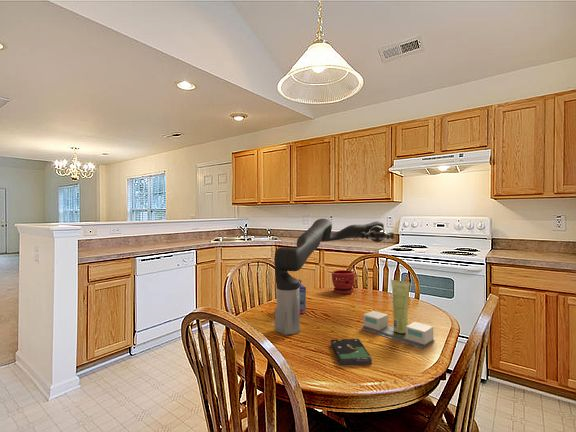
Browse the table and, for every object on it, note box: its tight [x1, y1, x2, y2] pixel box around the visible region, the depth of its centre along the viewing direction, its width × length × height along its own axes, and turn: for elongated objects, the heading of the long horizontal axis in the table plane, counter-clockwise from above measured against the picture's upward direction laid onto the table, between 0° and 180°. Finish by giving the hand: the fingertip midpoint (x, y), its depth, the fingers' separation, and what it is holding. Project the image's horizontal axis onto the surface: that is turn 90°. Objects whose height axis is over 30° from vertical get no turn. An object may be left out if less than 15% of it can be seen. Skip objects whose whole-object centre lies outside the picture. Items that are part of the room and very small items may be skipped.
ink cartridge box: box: [298, 278, 307, 314], centre depth 151 cm, size 10×6×14 cm, turn 15°
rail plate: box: [360, 324, 436, 350], centre depth 121 cm, size 10×25×1 cm, turn 43°
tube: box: [390, 279, 411, 333], centre depth 122 cm, size 6×5×20 cm
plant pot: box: [331, 269, 356, 295], centre depth 183 cm, size 13×13×12 cm
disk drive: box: [330, 338, 373, 367], centre depth 106 cm, size 10×3×15 cm
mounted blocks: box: [362, 310, 434, 345], centre depth 121 cm, size 7×25×4 cm, turn 43°
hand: (377, 236), depth 139 cm, fingers open, 8 cm apart
